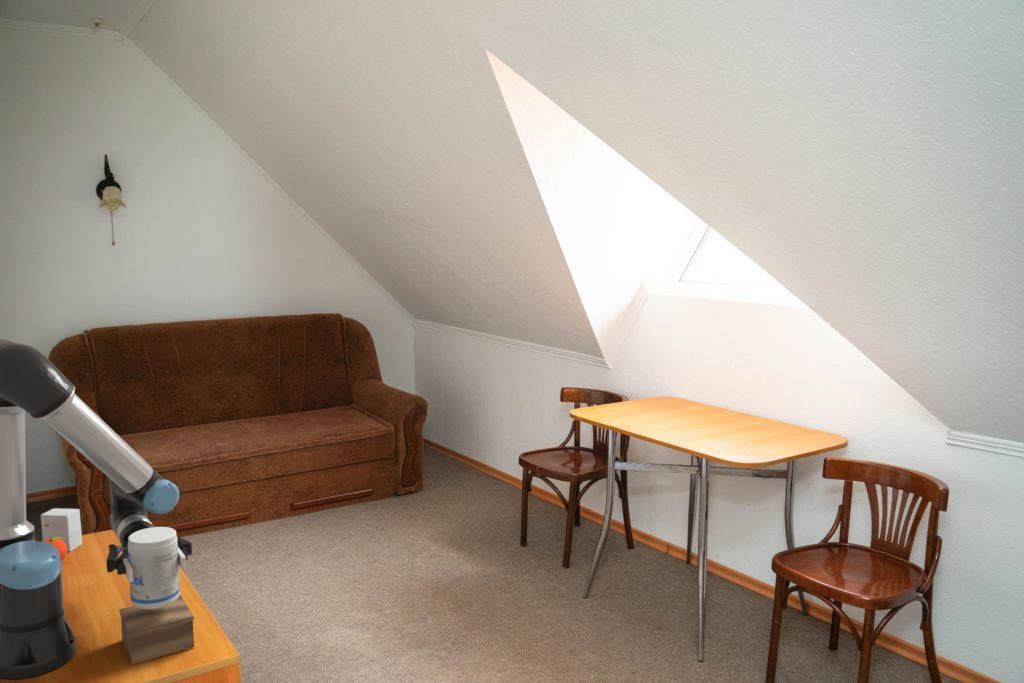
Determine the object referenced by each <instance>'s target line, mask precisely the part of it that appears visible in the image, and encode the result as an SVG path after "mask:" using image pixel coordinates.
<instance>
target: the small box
mask: <svg viewBox="0 0 1024 683" xmlns="http://www.w3.org/2000/svg"><path fill="white" fill-rule="evenodd" d="M40 521H41V522H40V525H41V534H42V536H41V537H42V541H45V540H47V539H50V538H55V537H63V538H58V539H61V540H62V541H64V542H65V544H66V546H67V553H68V552H69V553H70V552H72V551H74V550H75V549H77V548H79V547H80V546H81V545H83V535H82V534H83V533H82V524H81V511H80V509H79V508H59V507H57V508H51V509H49V510H48V511H45V512H43V513H41V514H40ZM65 538H66V539H67V540H68V541H69V542H68V541H67V540H66V539H65Z"/></svg>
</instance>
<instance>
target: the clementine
mask: <svg viewBox="0 0 1024 683" xmlns="http://www.w3.org/2000/svg"><path fill="white" fill-rule="evenodd" d="M58 538H63V537H55V538H50V539H47V540H45V541H44V542H48V543H50V544H52V545H54V546H55V547H56V548H57V549H58V551H59V555H60V559H61V562H62V561H63V560H64V559H65V558H66V556H67V553H68V552H67V546H66V544H65V542H64V541H62V540H61V539H58ZM65 539H66V538H65ZM66 540H67V539H66ZM67 541H68V540H67ZM68 542H69V541H68Z"/></svg>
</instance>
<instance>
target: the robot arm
mask: <svg viewBox="0 0 1024 683" xmlns="http://www.w3.org/2000/svg"><path fill="white" fill-rule="evenodd" d="M75 390H76V386H75V385H74V384H73V383H72V382H71V381H70V380H69V379H68V378H67V377H66V376H65V374H63V373H62V372H61V370H59V368H58V367H56V366H55V364H53V362H52V361H50V360H49V358H48V357H46V355H45V354H43V353H42V352H41V351H39V350H38V349H37V348H35V347H33V346H31V345H28V344H24V343H18V342H15V341H12V340H9V339H0V678H1V679H7V680H8V679H9V680H16V679H18V680H19V679H25V678H32V677H36V676H40V675H42V674H43V675H44V674H46V673H48V672H51V671H54V670H56V669H58V668H59V667H62V666H64V665H65V664H66V663H68V662H70V660H72V659H73V657H74V656H76V652H77V642H76V637H75V635H74V633H73V631H72V629H71V627H70V625H69V622H67V620H66V617H65V609H64V608H65V607H64V592H63V576H62V568H63V567H62V566H63V564H62V561H61V559H60V555H59V551H58V549H57V548H56V547H55V546H54V545H52V544H50V543H48V542H44V541H43V540H41V541H38V540H36V538H35V536H36V535H35V525H34V524H32V523H31V522H30V521H28V520H27V483H26V482H27V478H26V476H27V473H26V468H27V466H26V458H27V457H26V413H27V414H29V416H31V417H32V418H33V419H34V420H44V421H45V422H46V423H47V424H48V425H49V426H50V427H51V428H52V429H54V430H55V431H56V432H57V433H58V434H59V435H60V436H62V437H63V439H65V440H66V441H67V443H69V444H70V445H71V446H72V447H74V448H75V449H76V450H77V451H78V452H79V453H81V455H82V456H84V457H85V458H86V459H87V460H88V461H90V463H92V464H93V465H94V466H95V467H96V468H97V469H98V470H100V471H101V473H103V474H105V476H107V477H108V479H109V492H110V503H111V504H110V505H111V506H110V508H111V514H110V517H109V521H110V528H111V530H112V531H113V533H114V534H115V535H116V537H117V539H118V541H119V543H120V545H116V544H114V543H112V544H109V545H108V555H107V557H106V572H107V573H113V572H114V571H115V570H116V571H117V572H116V574H117V575H118V576H120V575H125V576H126V579H127V580H128V583H130V582H133V569H132V567H131V565H130V563H129V561H128V538H129V536H130V535H131V534H133V533H134V532H137V531H139V530H142V529H146V528H152V527H155V526H154V525H153V524H152V522H151V520H150V519H149V518H148V512H149V513H150V514H157V515H164V514H167V513H169V512H171V511H173V509H174V508H175V507H176V506H177V504H178V503H179V500H180V490H179V488H178V486H177V485H176V484H175V483H173V482H172V481H170V480H169V479H165V478H164V477H162V475H160V474H159V472H157V471H156V470H155V469H154V468H152V466H151V465H150V464H149V463H148V462H147V461H146V460H145V459H144V458H143V457H142V456H140V455H139V453H137V451H136V450H134V449H133V448H132V447H131V446H130V445H129V444H128V443H127V442H126V441H125V440H124V439H123V438H122V437H121V436H120V435H119V434H118V433H116V432H115V430H114V429H112V428H111V427H110V426H109V425H108V424H107V423H106V422H105V421H104V420H103V419H102V418H101V417H100V416H99V415H98V414H97V413H95V411H94V410H92V408H90V406H88V405H87V404H86V403H85V402H84V401H83V400H82V399H81V398H80V397H79V396H78V395H77V394H76V393H75V392H76V391H75ZM176 536H177V543H178V564H179V567H180V568H181V570H182V571H186V570H187V561H188V560H189V556H191V555H192V554H193V546H192V544H193V543H192V542H190V541H189V540H186V539H184V538H183V537H181V536H179V535H177V534H176ZM121 552H122V553H121Z"/></svg>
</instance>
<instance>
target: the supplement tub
mask: <svg viewBox="0 0 1024 683" xmlns="http://www.w3.org/2000/svg"><path fill="white" fill-rule="evenodd" d="M176 535H177V530H175V528H172V527H168V526H154V527H152V528H146V529H142V530H139V531H137V532H134V533H133V534H131V535H130V536H129V538H128V561H129V563H130V565H131V567H132V569H133V582H129V591H130V592H129V594H130V603H131V605H132V606H135V607H136V608H140V609H156V608H161V607H164V606H167V605H169V604H171V603H173V602H174V601H176V600H177V598H178V597H179V595H181V594H180V593H181V592H180V570H179V569H180V568H179V567H180V565H179V564H178V543H177V536H178V535H177V536H176Z"/></svg>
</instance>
